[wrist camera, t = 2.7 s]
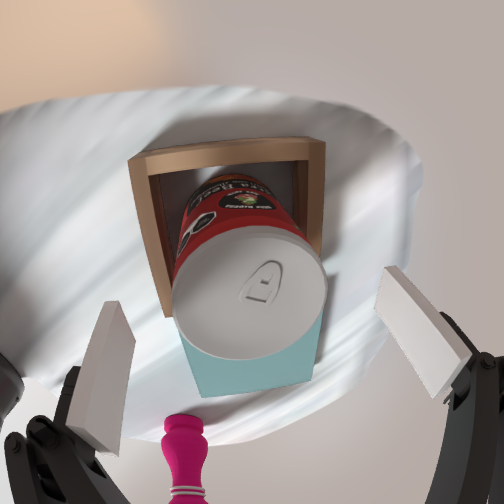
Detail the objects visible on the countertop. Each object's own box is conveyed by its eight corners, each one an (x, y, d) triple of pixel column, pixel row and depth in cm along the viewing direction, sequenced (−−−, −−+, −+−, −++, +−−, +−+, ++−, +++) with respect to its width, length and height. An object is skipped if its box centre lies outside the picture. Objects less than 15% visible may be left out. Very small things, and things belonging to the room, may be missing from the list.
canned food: (283, 175, 21) (348, 235, 12) (269, 263, 25) (307, 357, 16) (184, 168, 20) (166, 228, 10) (182, 261, 24) (175, 362, 14)
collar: (168, 292, 25) (165, 317, 22) (139, 152, 18) (127, 160, 15) (303, 275, 26) (315, 297, 23) (307, 136, 20) (325, 142, 17)
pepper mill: (154, 423, 37) (156, 532, 20) (174, 408, 35) (181, 533, 18) (191, 433, 40) (201, 534, 23) (214, 419, 38) (230, 532, 21)
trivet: (200, 385, 33) (201, 397, 31) (176, 305, 26) (174, 319, 24) (306, 369, 34) (310, 380, 32) (317, 285, 27) (324, 298, 26)
